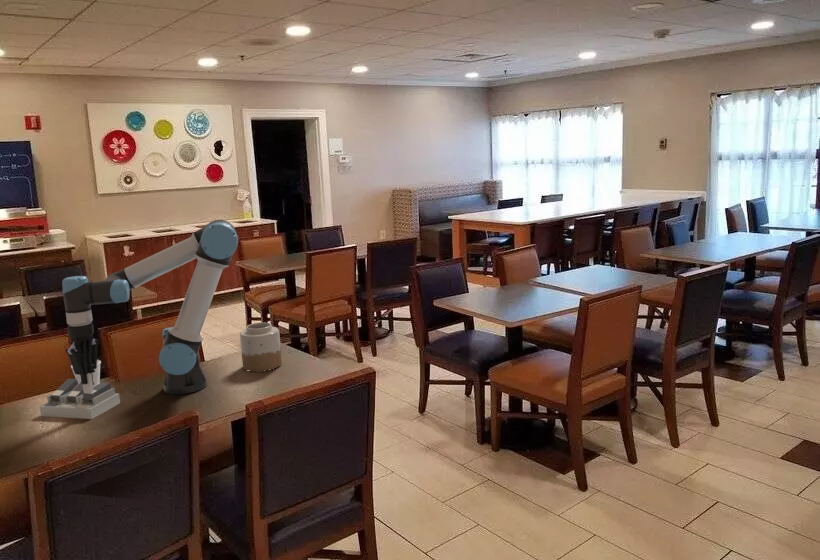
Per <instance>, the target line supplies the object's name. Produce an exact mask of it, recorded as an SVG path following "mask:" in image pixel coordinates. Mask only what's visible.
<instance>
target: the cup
mask: <svg viewBox="0 0 820 560" xmlns="http://www.w3.org/2000/svg"><path fill="white" fill-rule="evenodd" d="M101 364H102V361H101V360H100V359H97V368H96V369H94V370H95V372H94V373H93V372H92V375H93V382H94V385H93V387H95V386H97V385H98V384H100V383H101V382H100V378H101ZM70 368H71V370H72V373H73V375H74V379H77V381H78V383H79V384H80V383H81V376H80V375H78V374H75V373H74V370H73V367H72V364H71V365H70ZM79 384H78V385H79ZM78 385H77V386H78Z"/></svg>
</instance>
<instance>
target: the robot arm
mask: <svg viewBox="0 0 820 560" xmlns="http://www.w3.org/2000/svg"><path fill="white" fill-rule="evenodd" d="M238 246H239V236H238V234H237V230H236V228H235V227H234V225H233V224H232V223H230V222H229V221H227V220H225V219H215V220H211V221H210V222H209V223H208V224H206V225H204V226H203V227H201V228H199V229H198V230H196V231H193V232H192V234H191V236H190V237H188V238H185V239H184V240H182V241H179V242H177V243H175V244H173V245H171V246H169V247H167V248H165V249H163V250H161V251H158V252H157V253H154V254H152V255H150V256H147V257H146V258H144V259H142V260H140V261H138V262H136V263H135V262H134V263H133V264H132V265H129V266H127V267H125V268H124V269H121V270H119V271H116V272H112V273H111V274H109V275H108V276H107V277H106V278H105V279H104V280H99V281H89V278H88V277H87V276H86V275H75V276H74V275H73V276H68V277H65V278H63V279H62V283H61V284H62V296H63V302H64V309H65V317H66V324H67V325H68V326H67V333H68V334H67V335H68V337H70V339H71V340H70V347H68V348H66V349H65V352H66V354H67V356H68V358H69V361H70V363H71V365H72V367H73V370H74V373H75V374H78V375H80V376H81V383H82V384H83V392H84V393H92V392H94V390H93V382H92V381H93V375H92V372H93V373H94V372H95V370H94V369H96V368H97V360H98V347H99V344H100V339H97V338H96V339H95V338H94V336H93V334H94V333H95V331H94V328H95V327H94V324H93V319H94V318H93V313H92V306H93V305H94V306H95V305H105V304H106V305H107V304H119V303H126V302H128V301H129V300H130V296H131V295H130V292H131V290H133V289H135V288H137V287H139V286H142V285H144V284H146V283H147V282H150V281H152V280H154V279H156V278H158V277H160V276H162V275H164V274H167V273H169V272H171V271H172V270H175V269H177V268H179V267H181V266H184V265H185V264H187V263H189V262H192V261H194V260H195V259H197V262H196V265H195V269H194V271H193V273H192V274H193V275H192V276H191V280H190V283H189V285H188V288H187V290H186V293H185V296H184V300H183V302H182V304H181V307H180V311H179V313H178V317H177V319H176V322H175V324H174V326H171V327H166V328H163V330H162V332H161V333H162V334H161V338H162V343H163V344H162V347H161V350H160V352H159V354H158V360H159V365H160V366H161V368H162V370H163V371H165V377H164V381H163V391H164V392H165V393H166V394H168V395H169V394H170V395H185V394H190V393H194V392H198V391H201V390H203V389H204V388H206V387H207V385H208V379H207V376H206V374H205V372H204V370H203V368H202V366H201V362H200V353H199V351H200V348H201V345H202V342H203V340H204V339H203V337H202V335H201V332H202V329H203V326H204V323H205V320H206V317H207V315H208V312H209V309H210V306H211V304H212V302H213V297H214V295H215V292H216V290H217V287H218V284H219V281H220V279H221V276H222V274H223V270H224V269H225V268H228V267H230V264H231V261H232V258H233V255H234V253H235V252H236V250H237V249H238ZM73 370H72V371H73ZM74 373H73V374H74Z"/></svg>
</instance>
